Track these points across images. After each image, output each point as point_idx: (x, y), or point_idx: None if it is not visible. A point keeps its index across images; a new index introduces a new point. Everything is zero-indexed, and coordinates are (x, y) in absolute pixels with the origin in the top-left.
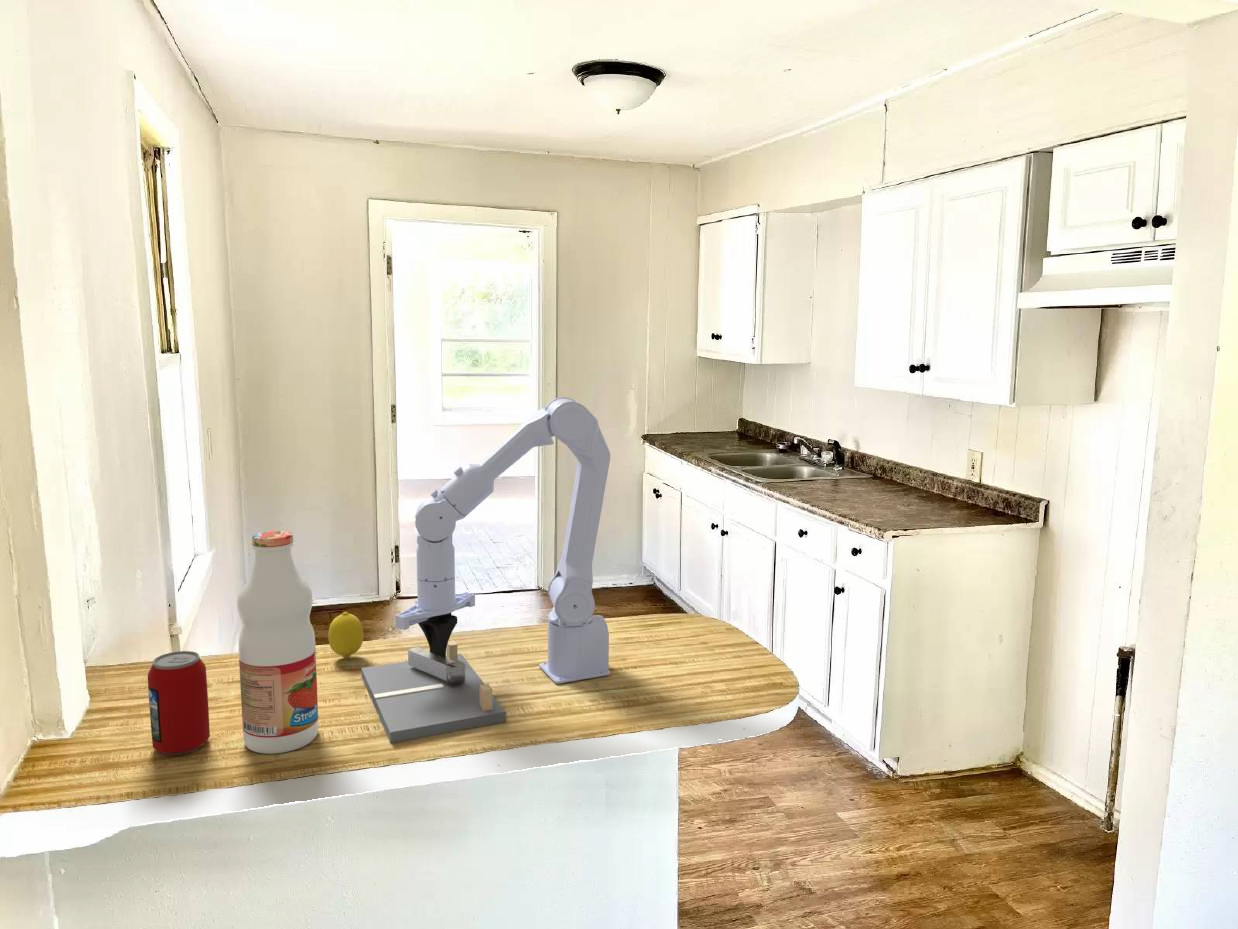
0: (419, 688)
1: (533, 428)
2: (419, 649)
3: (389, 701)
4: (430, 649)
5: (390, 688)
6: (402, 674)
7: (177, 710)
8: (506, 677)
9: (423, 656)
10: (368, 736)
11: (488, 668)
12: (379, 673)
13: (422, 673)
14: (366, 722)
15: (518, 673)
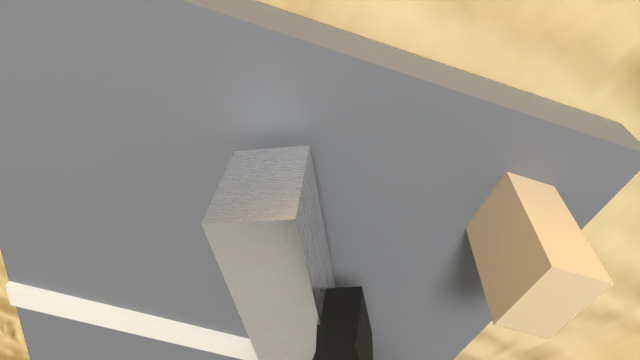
0: (190, 337)
1: None
2: (280, 266)
3: (66, 334)
4: (318, 344)
5: (84, 271)
6: (176, 190)
7: None
8: (566, 343)
9: (252, 337)
10: (12, 356)
11: (616, 260)
12: (50, 101)
13: None
14: (7, 310)
15: (630, 346)
